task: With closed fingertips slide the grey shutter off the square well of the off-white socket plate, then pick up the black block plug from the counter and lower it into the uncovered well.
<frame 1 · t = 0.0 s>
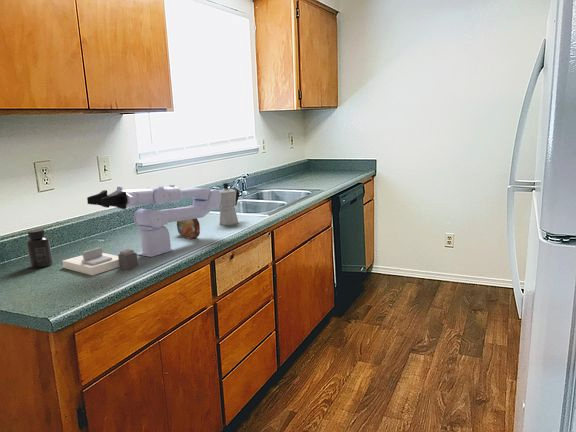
hand: (94, 201, 143), 22 cm above the worktop, tool horizontal, fingers open, 7 cm apart
socket plate: (94, 266, 151), on the worktop
shutter: (96, 255, 147), point 4 cm above the worktop, slide at 0.0 cm
supplement bottle: (42, 266, 155), on the worktop
coffee maker: (230, 223, 206), on the worktop
plug: (129, 267, 147), on the worktop
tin: (189, 237, 184), on the worktop
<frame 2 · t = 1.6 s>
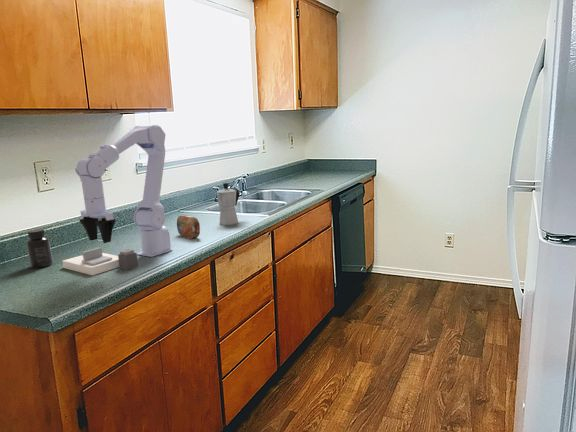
hand: (100, 241, 144), 9 cm above the worktop, tool pointing down, fingers open, 7 cm apart
nothing on the worktop moved.
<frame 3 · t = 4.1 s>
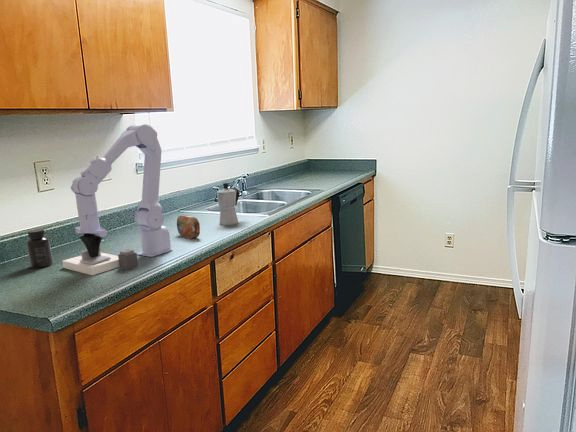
hand: (94, 256, 148), 4 cm above the worktop, tool pointing down, fingers closed
shutter: (94, 255, 147), point 4 cm above the worktop, slide at 0.9 cm, touching gripper
everything else where it was.
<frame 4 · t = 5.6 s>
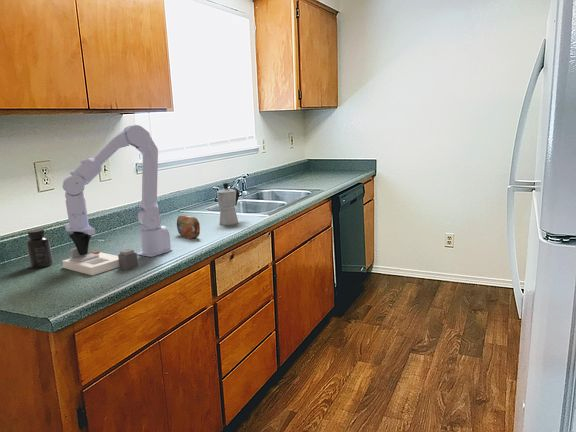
hand: (83, 254, 151), 4 cm above the worktop, tool pointing down, fingers closed
shutter: (83, 253, 151), point 4 cm above the worktop, slide at 7.3 cm, touching gripper
everything else where it was.
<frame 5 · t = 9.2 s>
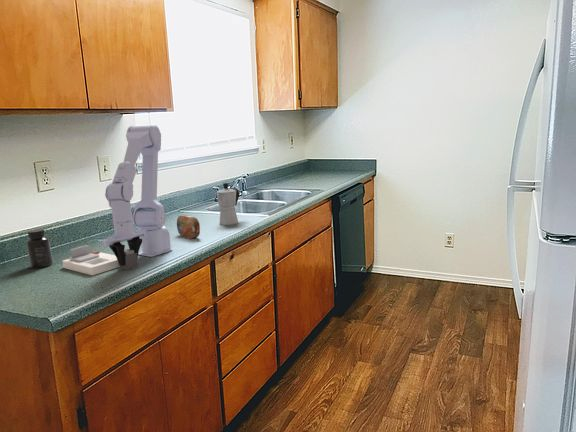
hand: (128, 263, 147), 1 cm above the worktop, tool pointing down, fingers closed on plug, 4 cm apart
shutter: (83, 253, 151), point 4 cm above the worktop, slide at 7.3 cm
plug: (129, 267, 147), on the worktop, touching gripper
everything else where it was.
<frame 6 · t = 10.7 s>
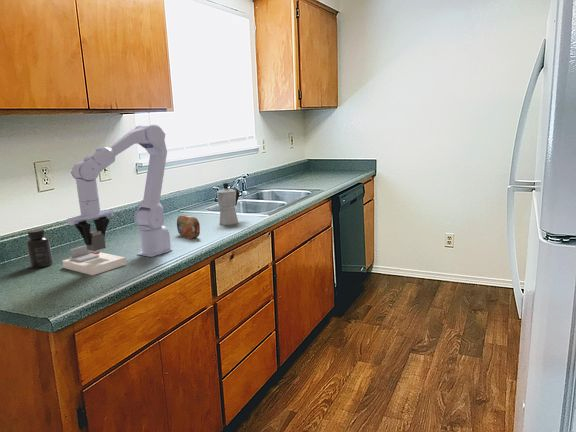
hand: (95, 242, 146), 8 cm above the worktop, tool pointing down, fingers closed on plug, 4 cm apart
plug: (96, 248, 146), point 7 cm above the worktop, touching gripper
everything else where it was.
when the fingers open (3 cm above the worktop, at t = 12.5 s): plug drops 1 cm, resting in socket plate.
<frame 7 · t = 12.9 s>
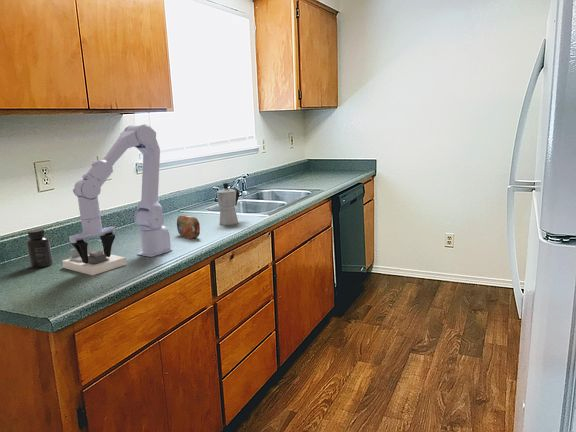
hand: (96, 259, 147), 3 cm above the worktop, tool pointing down, fingers open, 7 cm apart
plug: (98, 268, 148), resting in socket plate
everything else where it was.
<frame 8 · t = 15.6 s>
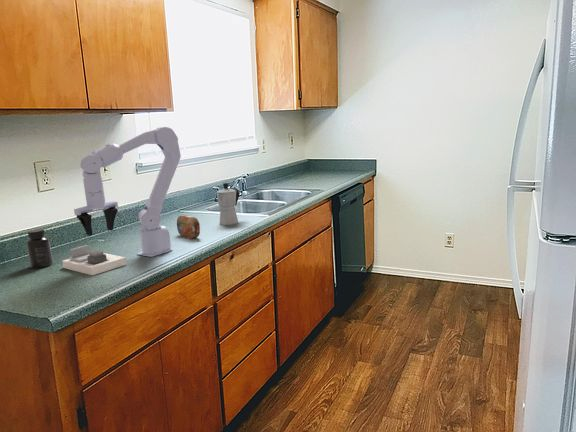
hand: (100, 232, 154), 10 cm above the worktop, tool pointing down, fingers open, 7 cm apart
nothing on the worktop moved.
at the end: shutter slide at 7.3 cm; plug 0.3 cm from the target spot, resting in socket plate; plug tilted 0° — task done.
